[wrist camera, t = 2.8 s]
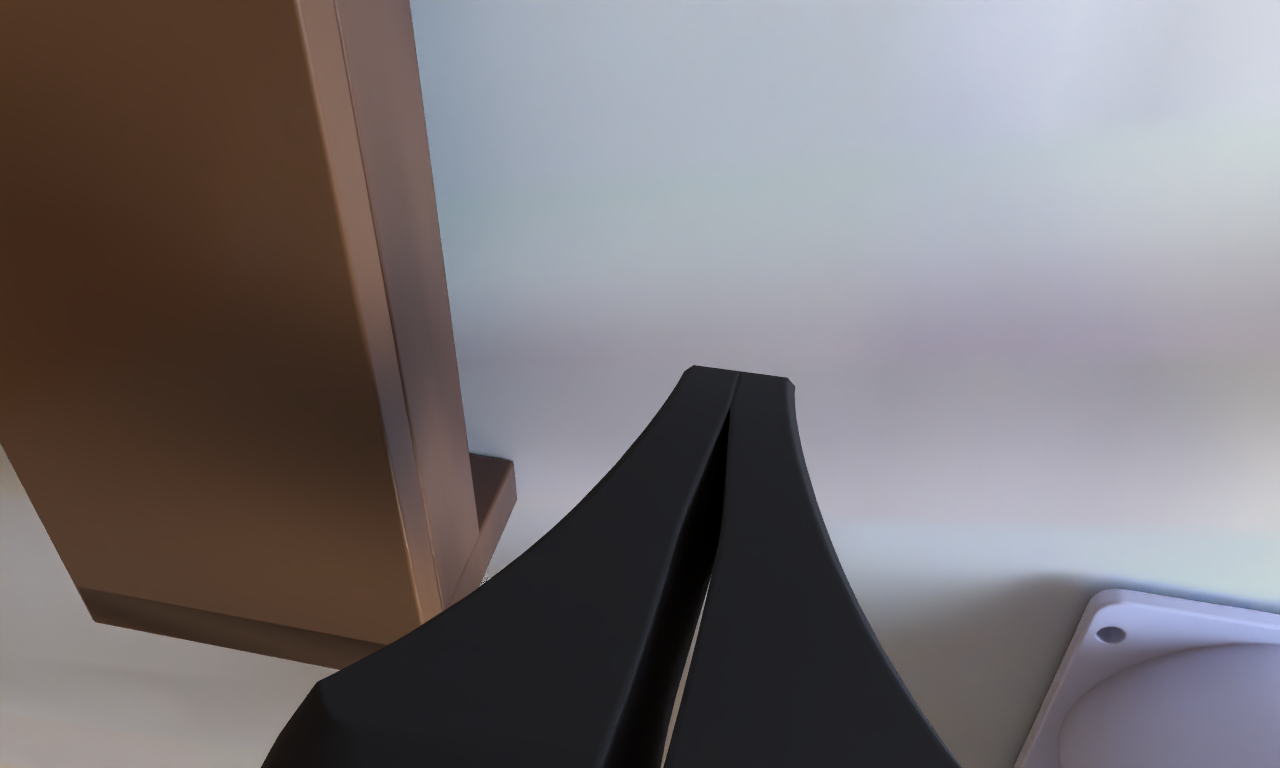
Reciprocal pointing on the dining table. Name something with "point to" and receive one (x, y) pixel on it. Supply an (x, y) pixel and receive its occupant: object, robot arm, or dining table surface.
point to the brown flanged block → (235, 323)
